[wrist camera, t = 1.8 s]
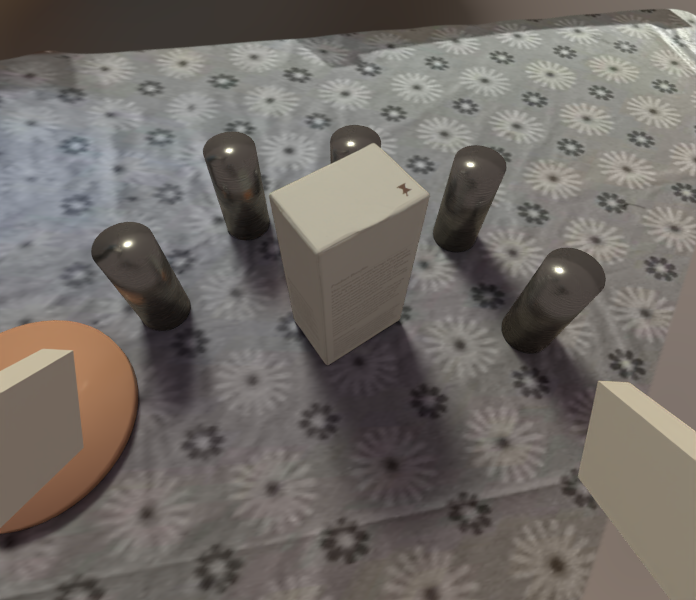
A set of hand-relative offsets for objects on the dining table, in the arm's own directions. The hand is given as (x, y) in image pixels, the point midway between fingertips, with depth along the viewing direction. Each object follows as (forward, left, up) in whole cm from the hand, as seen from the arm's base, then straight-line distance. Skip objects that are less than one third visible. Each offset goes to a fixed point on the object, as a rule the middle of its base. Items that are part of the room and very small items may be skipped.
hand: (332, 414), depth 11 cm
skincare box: (-9, +6, -15) cm, 19 cm away
